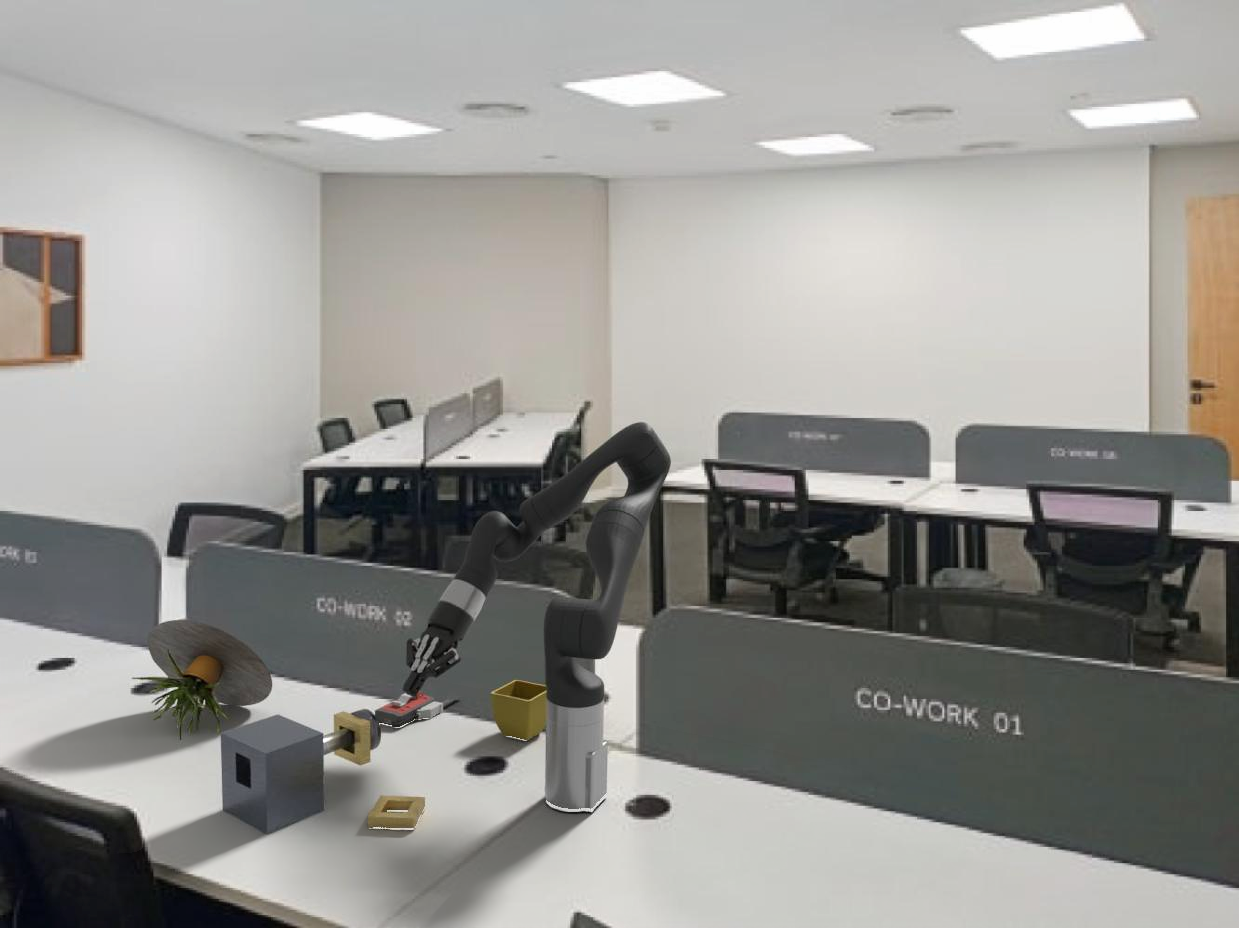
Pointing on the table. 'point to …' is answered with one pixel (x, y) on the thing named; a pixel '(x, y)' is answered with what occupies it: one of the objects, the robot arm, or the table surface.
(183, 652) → the potted plant
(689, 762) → the table surface
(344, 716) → the spacer
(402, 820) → the frame
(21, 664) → the table surface
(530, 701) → the flower pot
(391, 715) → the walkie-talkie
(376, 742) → the shaft
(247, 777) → the bearing block
